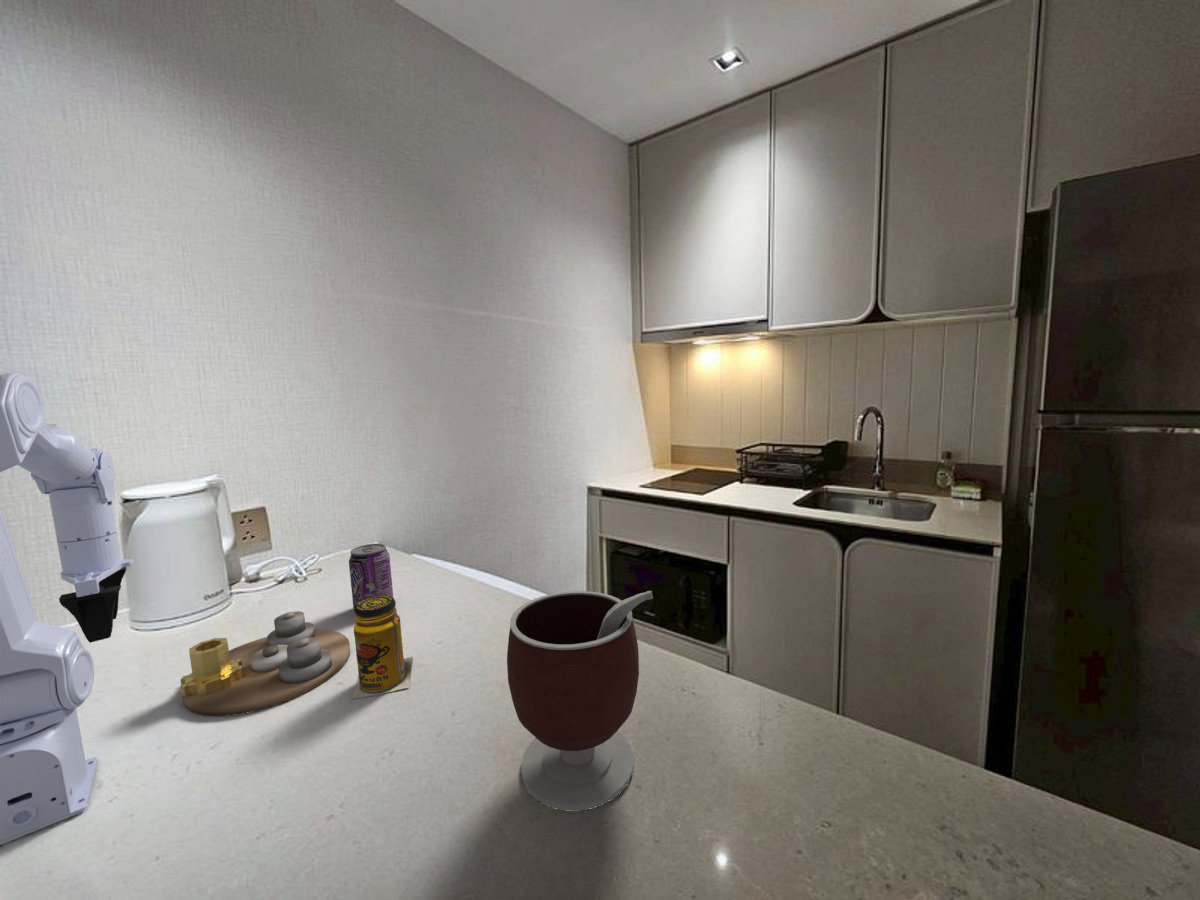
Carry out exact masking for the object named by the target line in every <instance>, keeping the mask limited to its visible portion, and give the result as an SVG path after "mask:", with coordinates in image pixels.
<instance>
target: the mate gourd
mask: <svg viewBox="0 0 1200 900" xmlns="http://www.w3.org/2000/svg"><path fill="white" fill-rule="evenodd" d="M653 598H654V596H653V592H652V590H647V591H646V592H641V593H637V594H634V595H633V596H630V597H628V598H625V599H623V600H621V599H620V598H619V597H615V596H613V595H611V594H610V595H609V594H606V593H603V592H598V591H589V590H571V591H569V590H568V591H560V592H554V593H549V594H547V595H542V596H539V597H537V598H533V599H532V600H529V601H527V602H525V603H523V604H522V605H521V606H519V607H518V608H516V609H515V611H514V612H513V614H512V615H511V617H510V622H509V624H510V625H509V632H508V642H507V654H506V665H507V666H506V669H507V682H508V683H507V684H508V688H509V692H510V695H511V701H512V704H513V706H514V710H515V713H516V716H517V718H518V721H519V722H520V724H521V725H522V726H523V728H524V729H526V731H527V732H529V733H530V734H531V735H532V736H533V737H535V738H533V739H532V741H531V742H530V743H529V745H528V746H527V747H526V749H525V751H524V753H523V756H522V760H521V778H523V779H522V781H524V782H523V785H524V784H525V786H526V787H525V786H524V787H525V789H526V788H527V789H526V791H527V790H528V791H529V792H528V791H527V792H528V794H529V793H530V794H531V795H532V796H533V797H534V798H535V799H536V801H537V800H538V801H540V802H541V803H540V802H539V803H540V804H542V803H543V804H544V805H543V804H542V805H543V806H545V805H546V806H545V807H547V805H548V806H550V807H553V808H557V809H562V810H585V809H589V808H594V807H595V806H599V805H601V804H603V803H606V802H608V800H611V799H613V798H614V797H615V796H617V794H619V793H620V792H621V791H622V790H623V789H624V788H625V787H626V785H627V784H628V782H629V780H630V778H631V776H632V777H633V775H632V773H633V774H634V770H633V769H635V760H634V759H635V757H634V756H635V755H634V752H633V748H632V746H631V744H630V742H629V741H628V739H627V738H626V737H625V736H624V735H623V734H622V733H621V732H620V731H619V729H620V728H622V726H623V725H624V723H626V721H627V720H628V718H629V717H630V715H631V714H632V711H633V708H634V704H635V699H636V696H637V691H638V684H639V678H640V677H639V676H640V665H639V664H640V662H639V660H640V657H639V644H638V643H639V642H638V637H637V633H636V632H637V631H636V627H635V623H634V620H633V612H632V610H634V608H636V607H637V606H638V605H640V604H642V603H643V602H645V601H647V600H648V601H649V600H653ZM631 779H632V778H631ZM630 781H631V780H630ZM629 783H630V782H629ZM628 785H629V784H628ZM626 788H627V787H626ZM626 788H625V789H626ZM625 789H624V790H625ZM624 790H623V791H624ZM530 794H529V795H530ZM531 795H530V796H531ZM532 796H531V797H532ZM533 797H532V798H533ZM617 797H618V796H617ZM534 798H533V799H534ZM535 799H534V800H535ZM538 801H537V802H538ZM608 803H609V802H608ZM606 804H607V803H606ZM550 807H549V808H550ZM553 808H552V809H553ZM594 809H595V808H594ZM585 811H586V810H585Z"/></svg>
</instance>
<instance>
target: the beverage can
mask: <svg viewBox="0 0 1200 900" xmlns="http://www.w3.org/2000/svg"><path fill="white" fill-rule="evenodd" d="M348 566H349V577H350V587H351V596H352V597H351V598H352V608H353V611H354V612H355V607H356V605H357V604H358V603H360V602H361V601H363V600H366V599H368V598H371V597H376V596H390V597H393V598H394V589H393V579H392V569H391V567H392V566H391V559H390V553H389V551H388V550H387V545H386V544H384V543H369V544H363V545H359V546H355V547H354V548H352V549H351V550H350V557H349V559H348Z"/></svg>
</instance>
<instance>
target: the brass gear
mask: <svg viewBox="0 0 1200 900" xmlns="http://www.w3.org/2000/svg"><path fill="white" fill-rule="evenodd" d="M228 642H229V641H228V638H227V637H218V638H217V637H214V638H211V639H207V640H204V641H201V642H198V643H196V644H195V645H193V646H192V647H190V648H189V649H188V652H189V660H190V667H191V672H190V673H189V674H187V675H183V676H182V677H181V678H180V690H181V692H182V693H181V697H182V696H184V697H187V696H189V695H198V696H199V697H203V696H207V695H208V694H209V693H212V692H215V691H218V690H221V689H223V690H225V689H227V688H229V687H231V684H232V683H233V682H235V681H236V680H237V679H241V678H243V676H244V670H243V665H242V660H240V659H237V660H235V661H230V656H229V651H230V649H229V643H228Z"/></svg>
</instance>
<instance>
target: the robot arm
mask: <svg viewBox="0 0 1200 900" xmlns="http://www.w3.org/2000/svg"><path fill="white" fill-rule="evenodd" d="M44 411H45V407H44V403H43V398H42V396H41V393H40V391H39V390H38V388H37V386H36V384H34V382H32V380H30V379H29V378H28V377H26V376H25V374H22V373H19V372H8V373H4V374H0V473H1V472H4V471H6V470H8V469H12V468H14V467H15V466H19V467H21V468H22V469H24V470H26V471H28V472H30V476H31V478H32V480H34V481H35V484H36V486H37V488H38V490H39V491H40V493H41V494H42V495H48V497H49V503H50V509H51V513H52V514H51V515H52V521H53V526H54V531H55V537H56V544H57V548H58V555H59V559H60V565H61V570H62V571H61V572H60V577H61V580H62V581H65V582H67V583H69V584H71V585H73V586H74V590H75V592H70V593H63V594H61V595H60V596H59V599H58V600H59V601H58V602H59V604H60V606H62V607H63V608H65V609H66V610H67V611H68V612H69V613H70V614H71V615H72V616H73V617H74V619H75V620H76V622H77V623H78V625H79V627H80V629H81V631H82V633H83V635H84V637H85V639H86V640H87V641H88V642H89V643H96V642H97V641H102V640H106V639H109V638H111V636H112V632H113V627H114V626H113V625H114V620H116V619H117V616H118V609H119V599H120V597H119V596H120V590H121V587H122V585H121V584H122V580H123V579H124V576H125V574H126V571H127V568H128V567H132V566H133V565H134V559H133V558H125V559H122V555H121V550H120V549H121V548H120V544H119V543H120V542H119V537H118V532H117V526H116V520H115V519H116V518H115V514H114V506H113V501H112V500H113V499H115V498H116V497H115V494H116V493H115V491H116V490H115V475H116V473H115V465H114V462H113V458H112V456H111V454H110V453H109V452H108V451H102V450H101V449H99V448H89V447H88V446H87V445H86V444H85V443H83V441H81V440H80V439H78V438H77V437H76V436H75V435H74V434H72V433H71V432H70V431H69V430H67V429H66V428H63V427H61V426H59V424H57V423H54V424H53V423H52V424H46V423H45V422H44V419H45V412H44ZM15 552H16V551H15V549H14V545H13V543H12V540H11V537H10V534H9V531H8V527H7V526H6V523H5V519H4V516H3V514H2V510H1V509H0V846H1V845H4V844H6V843H9V842H11V841H14V840H17V839H18V838H21V837H24V836H26V835H28V834H31V833H32V834H33V833H35V832H36V831H39V830H41V829H44V828H46V827H49V826H51V825H53V824H56V823H58V822H61V821H64V820H66V819H68V818H70V817H73V816H76V815H78V814H81V813H83V812H84V811H86V809H87V808H88V806H89V802H90V801H89V800H90V796H91V793H92V787H93V783H94V779H95V776H96V775H95V774H96V770H97V765H98V761H99V760H98V757H91V758H88V759H86V757H85V750H84V746H83V740H82V735H81V733H82V732H81V728H80V722H79V718H78V711H77V709H78V708H79V707H81V706H82V705H83V703H84V702H85V701H86V700H87V699H88V697H89V696H90V695H91V692H92V689H93V687H94V680H95V666H94V665H95V664H94V660H93V657H92V654H91V653H90V651H88V650H87V649H86V648H85V647H84V644H83V643H82V641H81V639H80V637H79V636H78V634H77V631H76V630H73V629H69V628H65V627H62V626H61V627H60V626H58V625H52V624H49V623H45V622H41V621H39V619H38V617H37V614H36V610H35V608H34V605H33V603H32V599H31V596H30V594H29V591H28V588H27V585H26V582H25V578H24V575H23V573H22V570H21V567H20V564H19V561H18V558H17V555H16V553H15Z"/></svg>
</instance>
